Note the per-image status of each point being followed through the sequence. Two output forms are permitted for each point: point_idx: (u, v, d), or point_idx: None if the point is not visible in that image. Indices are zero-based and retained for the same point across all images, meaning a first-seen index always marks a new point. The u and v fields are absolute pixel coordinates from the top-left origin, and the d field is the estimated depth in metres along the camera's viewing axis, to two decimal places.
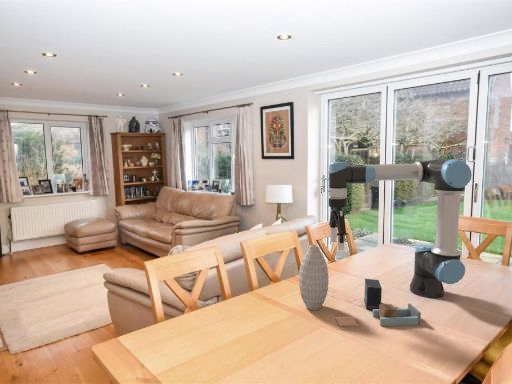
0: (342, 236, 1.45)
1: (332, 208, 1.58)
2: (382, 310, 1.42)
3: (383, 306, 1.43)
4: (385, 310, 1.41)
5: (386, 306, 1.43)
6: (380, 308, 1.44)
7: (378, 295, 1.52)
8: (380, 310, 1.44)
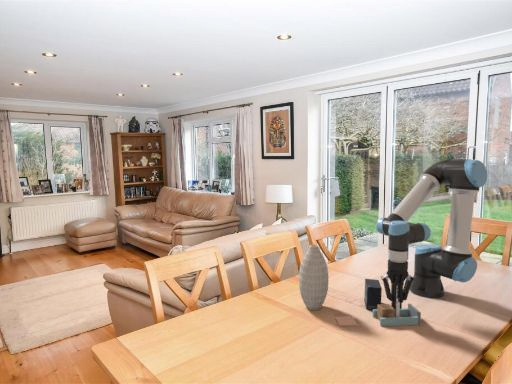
0: (392, 302, 1.42)
1: None
2: (380, 310, 1.42)
3: (381, 306, 1.43)
4: (383, 310, 1.40)
5: (384, 306, 1.43)
6: (378, 308, 1.44)
7: (378, 295, 1.52)
8: (378, 310, 1.44)
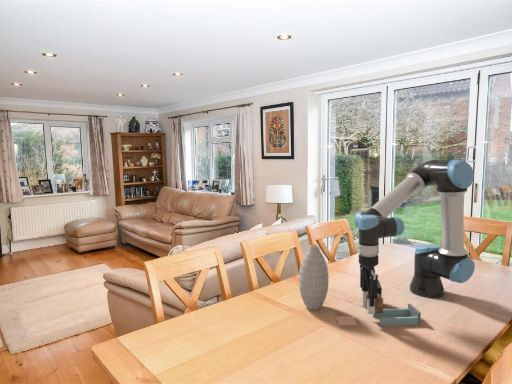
0: (373, 299, 1.38)
1: (361, 266, 1.46)
2: None
3: None
4: None
5: None
6: None
7: None
8: None
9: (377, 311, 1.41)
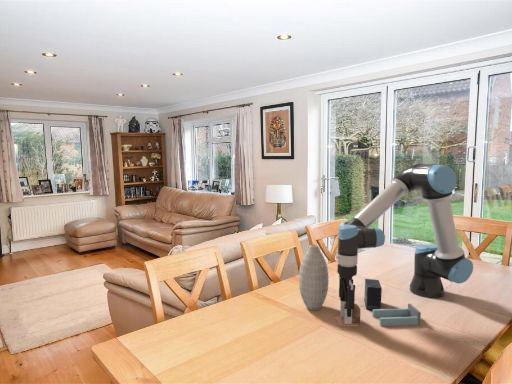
0: (350, 310, 1.38)
1: (340, 275, 1.46)
2: None
3: None
4: None
5: None
6: None
7: (378, 295, 1.52)
8: None
9: (354, 321, 1.40)
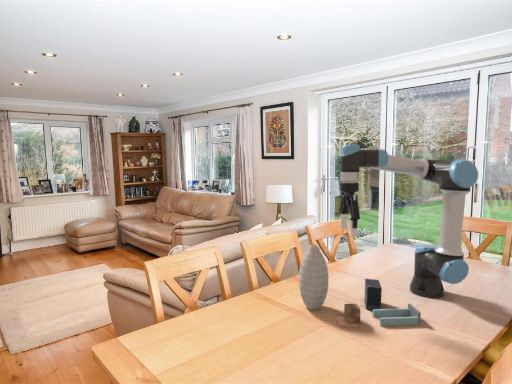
0: (355, 221, 1.40)
1: (343, 193, 1.53)
2: (346, 310, 1.41)
3: (348, 306, 1.43)
4: (349, 310, 1.40)
5: (351, 305, 1.43)
6: (345, 308, 1.43)
7: (378, 295, 1.52)
8: (345, 310, 1.43)
9: (354, 321, 1.40)
